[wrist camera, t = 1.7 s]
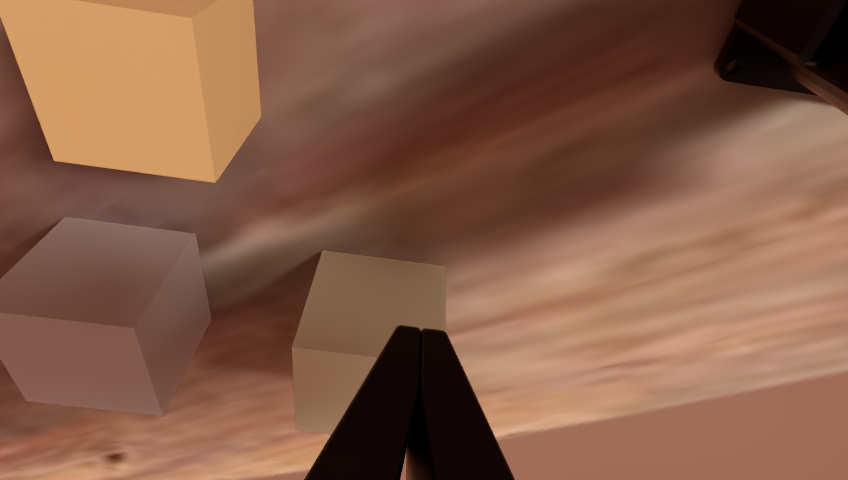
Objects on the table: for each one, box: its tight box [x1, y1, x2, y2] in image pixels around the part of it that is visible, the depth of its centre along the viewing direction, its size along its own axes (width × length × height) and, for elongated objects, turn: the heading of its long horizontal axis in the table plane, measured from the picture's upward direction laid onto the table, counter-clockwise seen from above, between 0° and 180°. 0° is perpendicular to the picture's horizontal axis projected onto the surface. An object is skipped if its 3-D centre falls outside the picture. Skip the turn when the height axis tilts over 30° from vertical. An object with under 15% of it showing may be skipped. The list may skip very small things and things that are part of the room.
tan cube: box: [292, 250, 446, 435], centre depth 24 cm, size 6×6×6 cm
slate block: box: [0, 217, 212, 416], centre depth 23 cm, size 6×6×6 cm
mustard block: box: [0, 0, 261, 183], centre depth 16 cm, size 5×5×5 cm
